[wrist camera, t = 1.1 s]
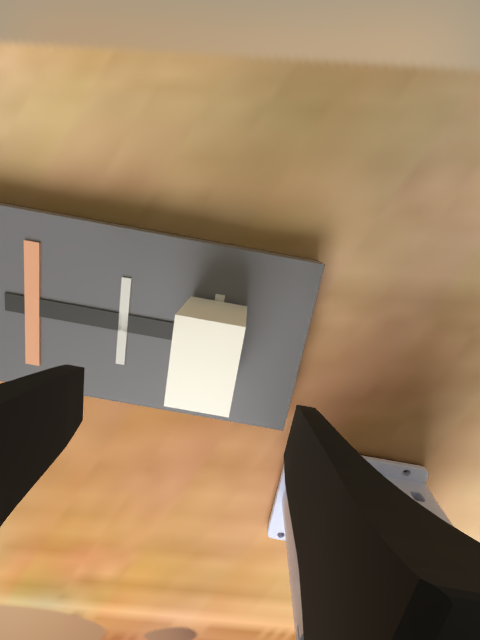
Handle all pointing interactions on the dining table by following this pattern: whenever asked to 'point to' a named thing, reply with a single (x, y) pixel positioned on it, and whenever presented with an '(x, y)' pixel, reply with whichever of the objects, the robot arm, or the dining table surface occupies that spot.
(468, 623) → the robot arm
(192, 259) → the slider panel
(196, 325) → the slider knob
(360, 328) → the dining table surface
